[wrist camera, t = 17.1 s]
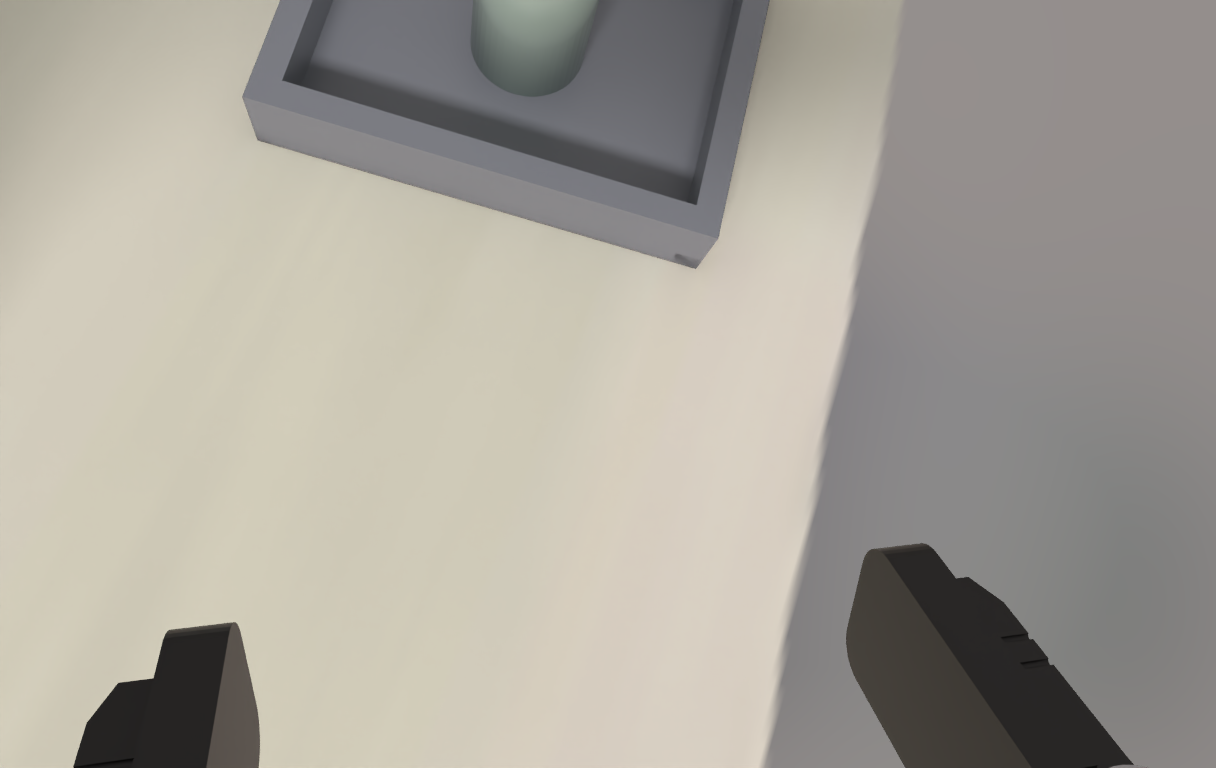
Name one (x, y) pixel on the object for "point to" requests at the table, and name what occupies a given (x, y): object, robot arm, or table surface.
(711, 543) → the table surface
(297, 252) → the table surface
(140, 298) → the table surface
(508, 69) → the shaker
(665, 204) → the tray
